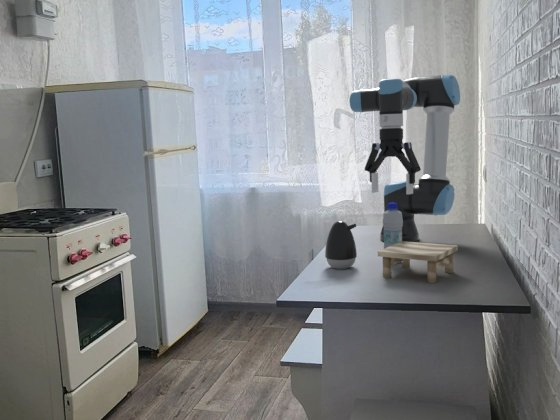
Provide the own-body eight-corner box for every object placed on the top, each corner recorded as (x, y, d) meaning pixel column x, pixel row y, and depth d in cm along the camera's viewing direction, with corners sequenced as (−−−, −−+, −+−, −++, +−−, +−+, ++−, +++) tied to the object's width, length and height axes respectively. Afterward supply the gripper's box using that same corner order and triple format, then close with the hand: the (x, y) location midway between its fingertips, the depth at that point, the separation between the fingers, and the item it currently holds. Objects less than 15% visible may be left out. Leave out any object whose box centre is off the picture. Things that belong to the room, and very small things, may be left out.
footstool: (402, 265, 197) (402, 241, 196) (457, 271, 186) (457, 245, 185) (378, 277, 182) (377, 251, 181) (436, 284, 172) (435, 256, 171)
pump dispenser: (353, 271, 191) (352, 223, 189) (321, 270, 195) (320, 223, 193) (360, 264, 201) (359, 219, 199) (330, 263, 204) (329, 218, 202)
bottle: (403, 264, 199) (402, 203, 196) (382, 264, 200) (381, 203, 198) (403, 260, 205) (402, 201, 203) (383, 260, 207) (382, 201, 204)
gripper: (353, 129, 203) (354, 192, 206) (418, 126, 186) (418, 195, 188) (367, 128, 208) (368, 190, 211) (431, 126, 191) (431, 193, 193)
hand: (392, 193), depth 200 cm, fingers open, 13 cm apart
